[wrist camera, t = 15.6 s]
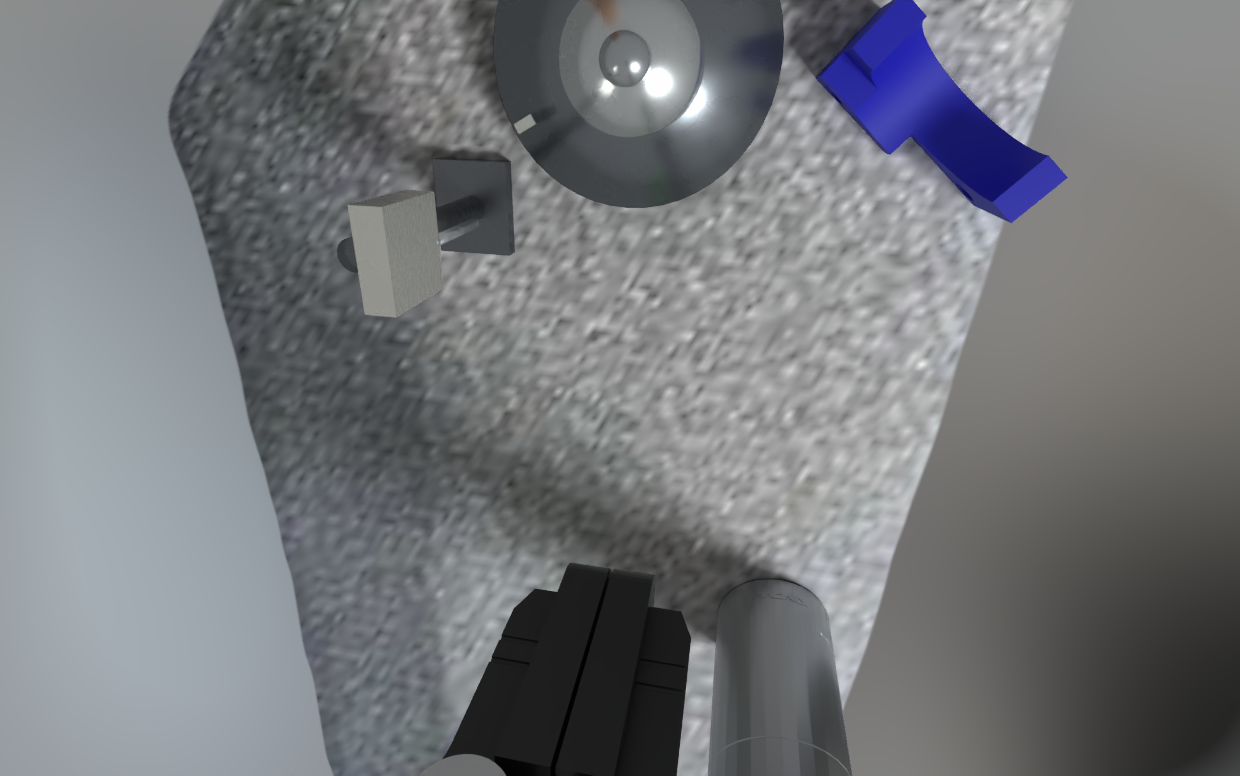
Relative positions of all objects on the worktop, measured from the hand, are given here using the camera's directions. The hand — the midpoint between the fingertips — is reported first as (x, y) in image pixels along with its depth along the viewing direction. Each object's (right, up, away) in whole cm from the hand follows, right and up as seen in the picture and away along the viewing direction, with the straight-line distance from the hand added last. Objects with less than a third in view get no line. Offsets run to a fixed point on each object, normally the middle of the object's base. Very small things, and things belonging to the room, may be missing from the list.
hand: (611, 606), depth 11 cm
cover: (+1, +22, +23) cm, 32 cm away
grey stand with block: (-10, +16, +31) cm, 37 cm away
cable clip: (+17, +19, +25) cm, 36 cm away
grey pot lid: (+1, +23, +25) cm, 34 cm away
